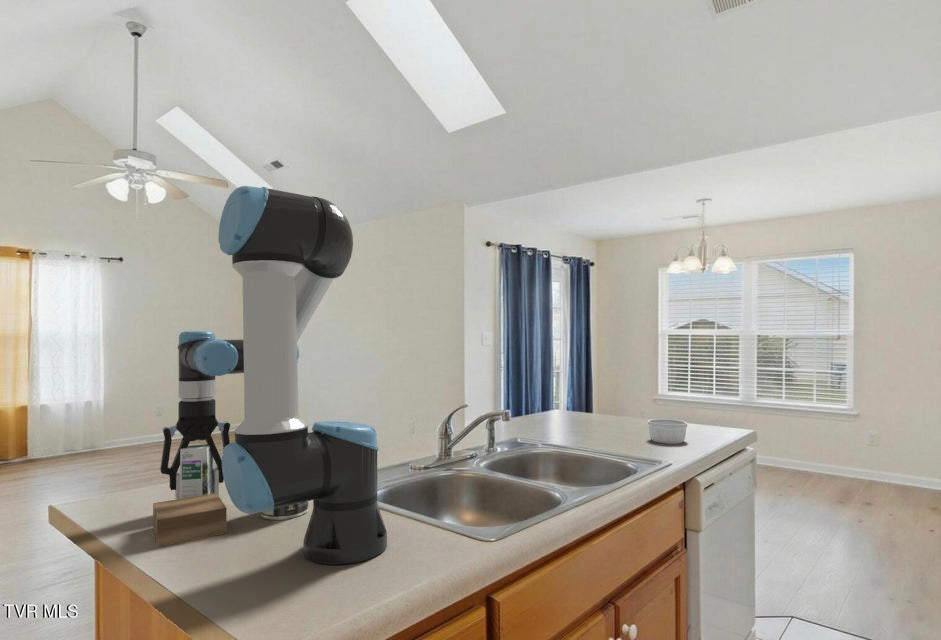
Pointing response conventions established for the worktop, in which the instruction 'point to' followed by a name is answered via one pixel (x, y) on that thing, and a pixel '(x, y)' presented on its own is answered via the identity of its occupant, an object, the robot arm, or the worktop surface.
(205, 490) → the syrup box
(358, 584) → the worktop surface
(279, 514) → the coffee can
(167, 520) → the plinth
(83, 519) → the worktop surface
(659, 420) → the ramekin
